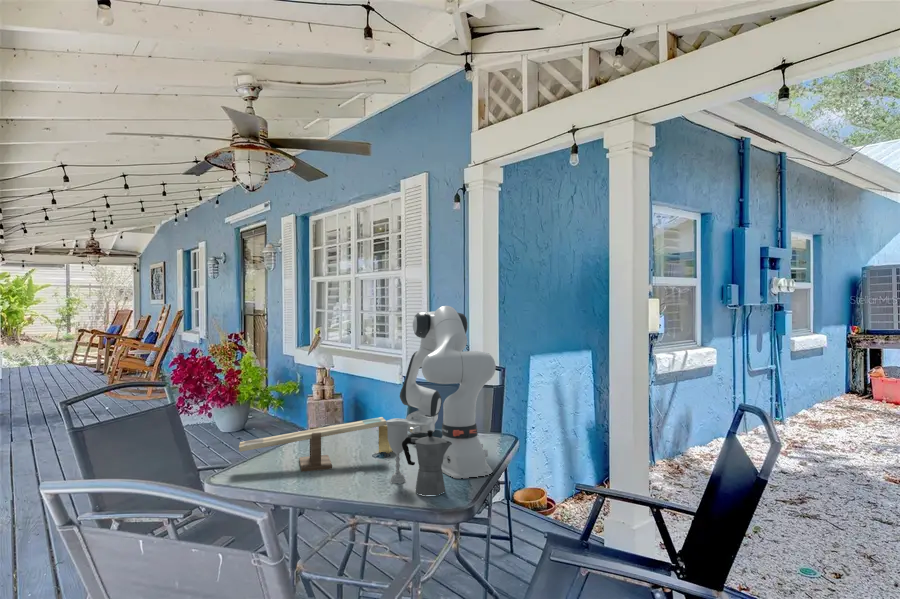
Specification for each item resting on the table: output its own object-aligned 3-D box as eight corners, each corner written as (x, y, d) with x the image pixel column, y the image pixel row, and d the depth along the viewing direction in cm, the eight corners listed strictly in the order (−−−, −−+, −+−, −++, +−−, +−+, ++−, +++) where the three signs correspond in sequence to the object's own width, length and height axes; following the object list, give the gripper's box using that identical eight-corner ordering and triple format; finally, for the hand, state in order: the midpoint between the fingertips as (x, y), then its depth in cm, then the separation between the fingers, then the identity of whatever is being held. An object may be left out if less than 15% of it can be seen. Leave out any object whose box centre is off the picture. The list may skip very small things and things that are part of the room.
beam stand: (332, 468, 181) (332, 433, 182) (301, 471, 178) (301, 435, 178) (328, 458, 195) (327, 424, 195) (299, 460, 192) (299, 426, 192)
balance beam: (386, 425, 191) (386, 420, 191) (239, 451, 176) (238, 446, 176) (382, 421, 198) (382, 416, 198) (240, 446, 182) (240, 441, 182)
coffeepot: (456, 488, 161) (455, 428, 162) (447, 499, 152) (447, 435, 152) (407, 484, 165) (407, 425, 166) (396, 494, 156) (396, 432, 157)
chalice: (409, 477, 172) (409, 421, 172) (409, 484, 165) (408, 425, 165) (386, 477, 171) (386, 421, 172) (385, 484, 165) (384, 425, 165)
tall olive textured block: (394, 450, 205) (394, 424, 205) (389, 453, 201) (389, 426, 201) (384, 449, 206) (384, 423, 207) (378, 452, 202) (378, 425, 203)
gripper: (394, 413, 232) (378, 419, 219) (437, 416, 224) (424, 423, 211) (394, 428, 232) (378, 435, 219) (437, 432, 224) (424, 439, 211)
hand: (401, 429), depth 215 cm, fingers open, 8 cm apart
